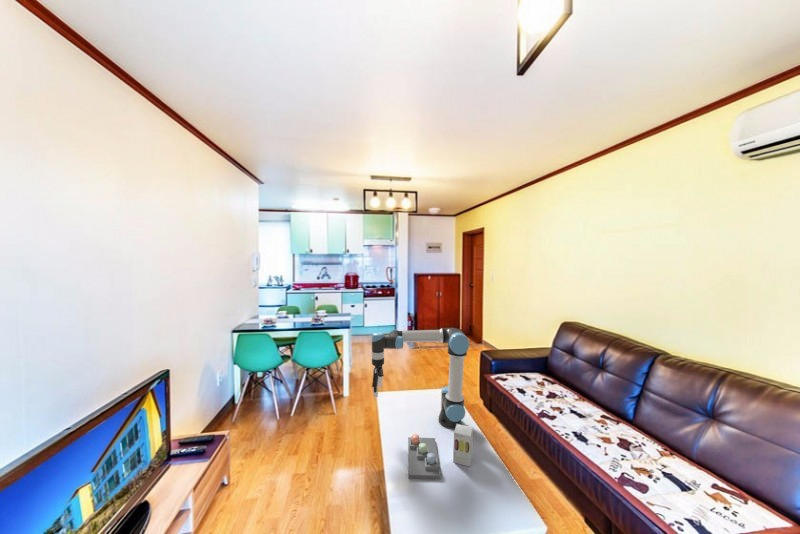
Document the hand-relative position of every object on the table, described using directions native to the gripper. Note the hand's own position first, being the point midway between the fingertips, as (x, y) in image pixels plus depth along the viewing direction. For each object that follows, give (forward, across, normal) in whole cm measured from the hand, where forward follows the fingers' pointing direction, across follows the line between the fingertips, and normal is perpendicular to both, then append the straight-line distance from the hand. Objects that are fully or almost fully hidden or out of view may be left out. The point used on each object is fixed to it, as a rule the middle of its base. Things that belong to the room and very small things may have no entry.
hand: (378, 391), depth 183 cm
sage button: (+23, +18, +29) cm, 41 cm away
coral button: (+23, +10, +24) cm, 35 cm away
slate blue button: (+23, +25, +34) cm, 48 cm away
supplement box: (+27, +15, +51) cm, 60 cm away
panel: (+27, +18, +29) cm, 44 cm away
